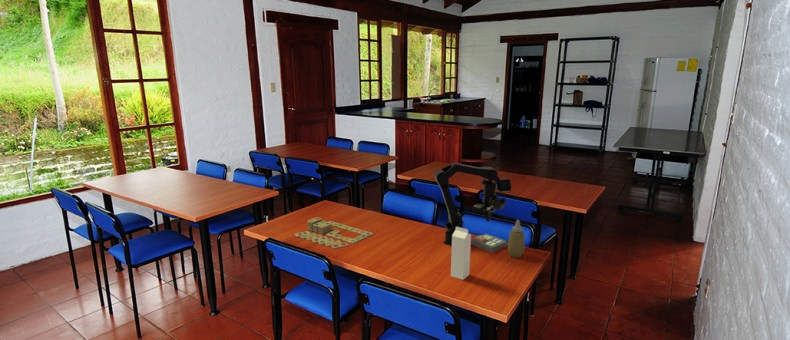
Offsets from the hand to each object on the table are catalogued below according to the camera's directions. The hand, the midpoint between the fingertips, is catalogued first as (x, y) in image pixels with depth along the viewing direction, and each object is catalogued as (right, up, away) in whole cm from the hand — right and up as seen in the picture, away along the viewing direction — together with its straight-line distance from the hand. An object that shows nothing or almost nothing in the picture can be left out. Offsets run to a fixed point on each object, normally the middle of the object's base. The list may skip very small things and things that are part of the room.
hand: (487, 221), depth 218 cm
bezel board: (0, -12, -2) cm, 12 cm away
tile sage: (0, -10, +1) cm, 10 cm away
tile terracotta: (-4, -10, -2) cm, 11 cm away
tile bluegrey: (+4, -11, -3) cm, 12 cm away
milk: (-20, -20, -34) cm, 44 cm away
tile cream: (0, -12, -6) cm, 14 cm away
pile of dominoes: (-82, -9, +11) cm, 83 cm away
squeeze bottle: (+10, -15, -14) cm, 23 cm away
